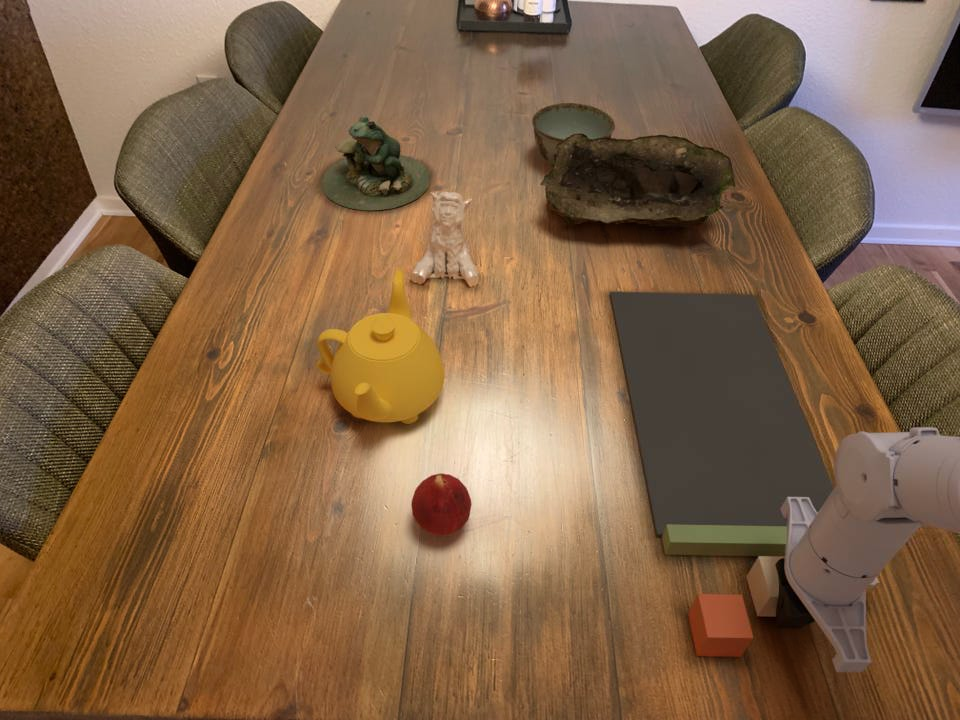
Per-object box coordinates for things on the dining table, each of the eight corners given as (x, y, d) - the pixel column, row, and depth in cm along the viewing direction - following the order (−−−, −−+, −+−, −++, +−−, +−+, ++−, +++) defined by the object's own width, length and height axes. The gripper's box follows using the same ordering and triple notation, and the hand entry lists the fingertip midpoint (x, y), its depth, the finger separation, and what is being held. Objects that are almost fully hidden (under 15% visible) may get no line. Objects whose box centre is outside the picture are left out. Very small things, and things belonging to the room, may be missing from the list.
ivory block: (799, 617, 66) (815, 597, 63) (757, 616, 66) (770, 596, 63) (786, 577, 69) (801, 556, 66) (745, 576, 69) (758, 556, 66)
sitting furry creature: (410, 285, 99) (406, 212, 90) (416, 248, 105) (412, 176, 96) (478, 288, 99) (480, 215, 90) (480, 251, 105) (482, 179, 96)
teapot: (343, 331, 92) (332, 260, 84) (456, 343, 91) (456, 272, 83) (295, 454, 78) (276, 383, 70) (429, 470, 77) (425, 400, 69)
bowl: (613, 152, 126) (620, 109, 121) (601, 191, 117) (609, 146, 112) (538, 140, 129) (542, 97, 123) (521, 177, 120) (524, 133, 114)
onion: (481, 517, 73) (483, 471, 67) (449, 560, 69) (449, 516, 64) (434, 491, 75) (432, 445, 69) (402, 532, 71) (397, 486, 66)
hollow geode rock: (709, 253, 114) (725, 160, 113) (729, 242, 101) (748, 136, 100) (535, 227, 116) (551, 135, 116) (534, 212, 103) (552, 109, 103)
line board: (859, 558, 71) (870, 545, 69) (659, 555, 70) (665, 541, 69) (752, 297, 99) (758, 283, 97) (609, 294, 99) (612, 280, 97)
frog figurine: (302, 173, 119) (291, 107, 110) (394, 143, 127) (390, 79, 118) (355, 224, 109) (347, 155, 101) (451, 188, 117) (451, 122, 108)
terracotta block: (740, 657, 63) (754, 638, 61) (696, 656, 63) (707, 637, 61) (729, 614, 66) (742, 594, 63) (687, 613, 66) (697, 593, 63)
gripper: (941, 637, 49) (862, 707, 59) (863, 467, 60) (806, 550, 69) (841, 636, 49) (778, 705, 59) (780, 466, 60) (734, 549, 69)
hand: (788, 621), depth 64 cm, fingers closed
